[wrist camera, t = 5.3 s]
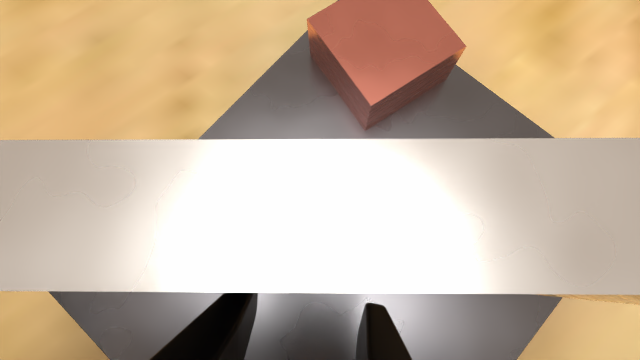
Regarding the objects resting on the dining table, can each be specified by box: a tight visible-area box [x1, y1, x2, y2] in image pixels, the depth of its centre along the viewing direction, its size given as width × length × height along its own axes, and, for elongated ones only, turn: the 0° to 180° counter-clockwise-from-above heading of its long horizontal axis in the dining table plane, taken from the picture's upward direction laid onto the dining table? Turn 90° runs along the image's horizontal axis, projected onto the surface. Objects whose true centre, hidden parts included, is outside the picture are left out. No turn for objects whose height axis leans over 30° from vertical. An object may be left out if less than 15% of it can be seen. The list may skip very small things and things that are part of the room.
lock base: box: [48, 0, 562, 360], centre depth 14 cm, size 17×14×4 cm
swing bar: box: [0, 138, 640, 305], centre depth 9 cm, size 13×3×7 cm, turn 90°
